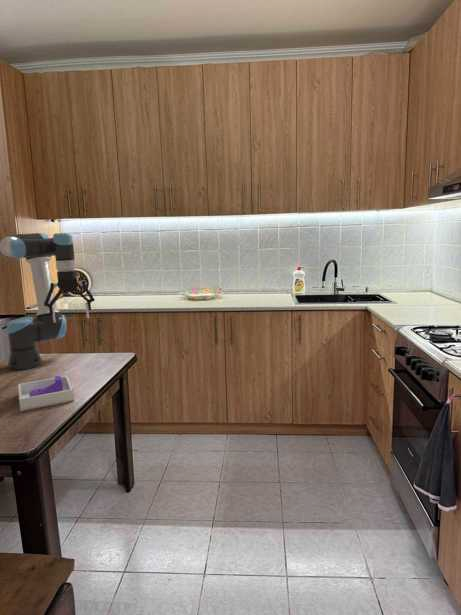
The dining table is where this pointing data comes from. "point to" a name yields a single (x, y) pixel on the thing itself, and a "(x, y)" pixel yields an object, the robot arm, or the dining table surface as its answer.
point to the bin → (44, 399)
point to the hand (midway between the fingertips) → (71, 320)
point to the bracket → (49, 388)
